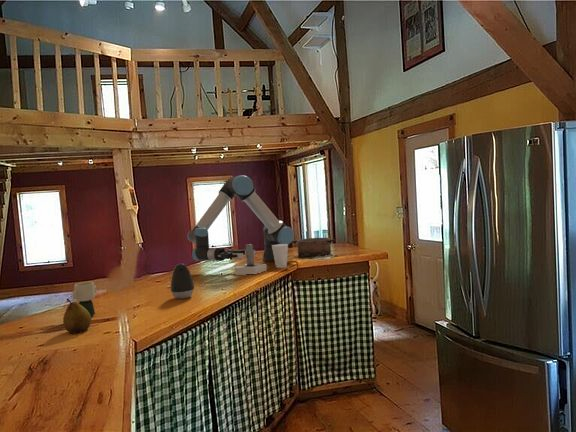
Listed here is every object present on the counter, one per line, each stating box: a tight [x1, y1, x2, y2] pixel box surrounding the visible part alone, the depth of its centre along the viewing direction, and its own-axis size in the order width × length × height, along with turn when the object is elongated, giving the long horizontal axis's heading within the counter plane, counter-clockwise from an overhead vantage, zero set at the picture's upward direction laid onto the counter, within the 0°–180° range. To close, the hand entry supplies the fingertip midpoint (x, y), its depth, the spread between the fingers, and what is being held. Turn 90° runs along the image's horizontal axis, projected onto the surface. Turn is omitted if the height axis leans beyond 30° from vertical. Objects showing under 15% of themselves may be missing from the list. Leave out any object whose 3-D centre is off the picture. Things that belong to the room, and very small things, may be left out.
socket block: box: [234, 263, 268, 276], centre depth 270 cm, size 13×13×4 cm
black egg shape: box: [170, 263, 195, 300], centre depth 213 cm, size 10×10×15 cm
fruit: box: [62, 298, 92, 334], centre depth 167 cm, size 9×9×12 cm
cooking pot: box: [292, 237, 336, 258], centre depth 328 cm, size 30×22×11 cm
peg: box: [245, 243, 255, 267], centre depth 269 cm, size 4×4×16 cm
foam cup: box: [272, 244, 289, 269], centre depth 283 cm, size 10×9×13 cm
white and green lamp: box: [71, 281, 97, 317], centre depth 189 cm, size 11×7×13 cm, turn 153°
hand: (249, 253), depth 269 cm, fingers open, 13 cm apart
